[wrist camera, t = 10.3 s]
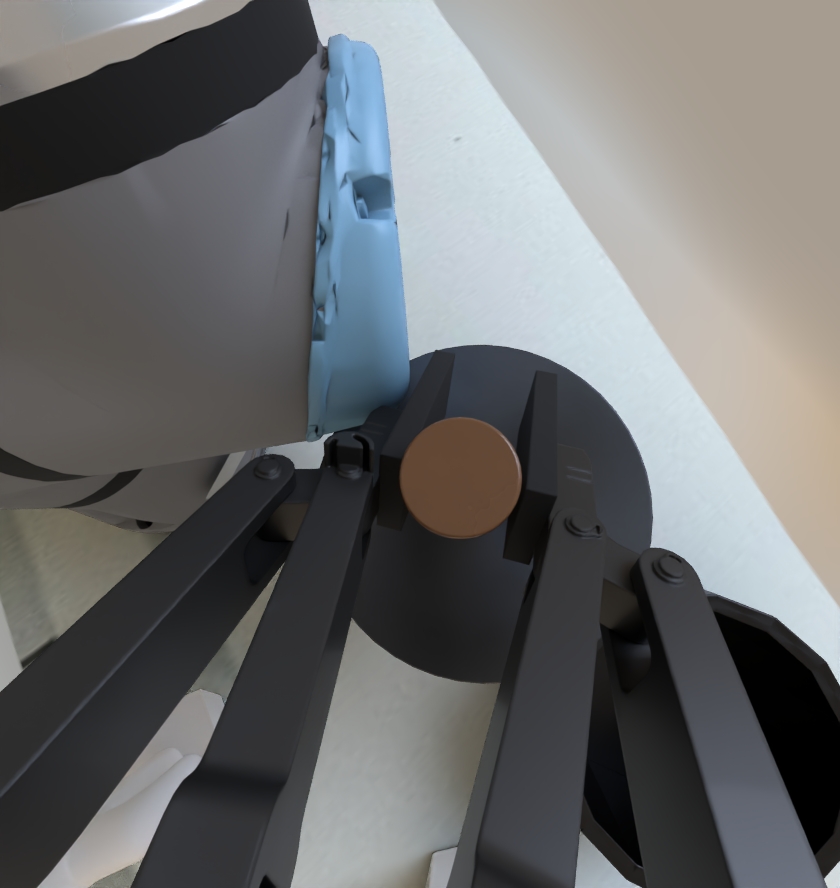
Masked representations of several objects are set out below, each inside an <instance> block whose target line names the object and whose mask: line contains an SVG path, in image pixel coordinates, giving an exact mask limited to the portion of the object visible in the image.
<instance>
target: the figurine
mask: <svg viewBox="0 0 840 888" xmlns="http://www.w3.org/2000/svg"><path fill="white" fill-rule="evenodd" d="M224 706H225V705H224V703H223V700H222V697H221V695H218V694H215V693H212V692H209V691H205V690H202V689H198V690H196V691H194V692H192V693H190V694H188V695H186V696H184V697H183V698H182V700H181V701H180V702H179V704H178V705H177V706H176V708H175V709H174V710H173V712H172V713H171V714H170V716H169V717H168V718H167V720H166V721H165V722H164V724H163V725H162V726H161V728H160V729H159V730H158V732H157V733H156V734H155V736H154V737H153V739H152V740H151V741H150V743H149V744H148V745H147V747H146V748H145V749H144V751H143V752H142V753H141V755H140V756H139V757H138V759H137V760H136V761H135V763H134V764H133V765H132V767H131V768H130V769H129V771H128V772H127V773H126V775H125V776H124V777H123V779H122V780H121V781H120V783H119V784H118V785H117V787H116V788H115V789H114V791H113V792H112V793H111V795H110V796H109V797H108V799H107V800H106V801H105V803H104V804H103V805H102V807H101V808H100V810H99V811H98V812H97V814H96V815H95V816H94V818H93V819H92V820H91V822H90V823H89V824H88V826H87V827H86V828H85V830H84V831H83V832H82V834H81V835H80V836H79V838H78V839H77V840H76V841H75V843H74V844H73V845H72V846H71V848H70V849H69V850H68V851H67V853H66V854H65V855H64V856H63V858H62V859H61V860H60V861H59V863H58V864H57V865H56V866H55V868H54V869H53V870H52V871H51V873H50V874H49V875H48V876H47V877H46V878H45V879H44V880H43V882H42V883H41V884H40V885H39V886H38V887H37V888H89V887H90V886H91V885H92V884H93V883H95V882H96V881H98V880H100V879H102V878H104V877H106V876H108V875H110V874H112V873H115V872H117V871H119V870H121V869H123V868H125V867H127V866H129V865H132V864H134V863H136V862H138V861H139V860H141V859H143V858H144V856H145V854H146V852H147V849H148V847H149V845H150V843H151V840H152V838H153V836H154V834H155V831H156V829H157V827H158V825H159V822H160V820H161V818H162V816H163V813H164V811H165V809H166V807H167V805H168V803H169V802H170V800H171V798H172V796H173V794H174V792H175V791H176V789H177V788H178V786H179V785H180V783H181V782H182V781H183V780H184V779H185V778H186V777H187V776H188V775H189V774H191V773H192V772H193V771H194V770H195V769H196V767H197V766H198V764H199V763H200V761H201V759H202V757H203V755H204V753H205V751H206V748H207V746H208V744H209V741H210V739H211V736H212V734H213V732H214V729H215V727H216V725H217V722H218V720H219V717H220V715H221V713H222V710H223V708H224Z"/></svg>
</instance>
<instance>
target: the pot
mask: <svg viewBox="0 0 840 888" xmlns="http://www.w3.org/2000/svg"><path fill="white" fill-rule="evenodd" d="M704 591H705V594H706V596H707V599H708V601H709V603H710V606H711V608H712V611H713V613H714V615H715V618H716V620H717V623H718V625H719V627H720V630H721V632H722V635H723V637H724V640H725V642H726V644H727V647H728V649H729V652H730V654H731V656H732V659H733V661H734V664H735V666H736V668H737V671H738V673H739V676H740V678H741V681H742V683H743V685H744V688H745V690H746V693H747V695H748V697H749V700H750V702H751V705H752V707H753V710H754V712H755V714H756V717H757V719H758V722H759V724H760V726H761V729H762V731H763V734H764V736H765V738H766V741H767V743H768V746H769V748H770V751H771V753H772V755H773V758H774V760H775V763H776V765H777V767H778V770H779V772H780V775H781V777H782V779H783V782H784V784H785V787H786V789H787V792H788V794H789V796H790V799H791V801H792V804H793V806H794V808H795V811H796V813H797V816H798V818H799V821H800V823H801V825H802V828H803V830H804V833H805V835H806V837H807V840H808V842H809V845H810V847H811V849H812V852H813V854H814V857H815V859H816V862H817V864H818V866H819V869H820V871H821V874H822V876H823V878H825V877H826V876H827V875H828V873H829V872H830V871H831V870H832V869H833V868H834V867H835V866H836V864H837V863H838V862H839V861H840V685H839V684H838V682H837V680H836V678H835V676H834V675H833V673H832V671H831V669H830V668H829V666H828V664H827V662H826V661H824V659H823V658H822V657H821V656H819V655H818V654H817V653H816V652H815V651H814V650H812V649H811V648H810V647H809V646H808V645H807V644H806V643H804V642H803V641H802V640H801V639H800V638H799V637H798V636H796V635H795V634H794V633H793V632H792V631H791V630H789V629H788V628H787V627H786V626H785V625H784V624H783V623H781V622H780V621H779V620H778V619H777V618H775V617H773V616H771V615H769V614H766V613H764V612H761V611H759V610H756V609H753V608H751V607H748V606H746V605H743V604H741V603H738V602H735V601H733V600H730V599H728V598H725V597H723V596H720V595H717V594H715V593H712V592H709V591H706V590H704ZM580 829H581V832H582V833H583V834H584V835H585V836H586V837H587V838H588V839H589V840H590V841H591V842H592V843H593V844H594V846H595V847H596V848H597V849H598V850H599V851H600V852H601V853H602V854H603V855H604V856H605V857H606V858H607V859H608V860H609V862H610V863H611V864H612V865H613V866H614V867H615V868H616V869H617V870H618V871H619V872H620V873H621V874H622V875H623V876H624V878H625V879H626V880H628V881H630V882H632V883H634V884H636V885H638V886H640V887H642V888H647V886H646V881H645V875H644V869H643V864H642V858H641V853H640V847H639V842H638V836H637V830H636V825H635V819H634V814H633V808H632V802H631V797H630V791H629V786H628V780H627V775H626V769H625V763H624V758H623V752H622V747H621V741H620V736H619V730H618V724H617V719H616V713H615V708H614V702H613V697H612V691H611V685H610V680H609V674H608V669H607V663H606V658H605V652H604V646H603V641H602V637H601V638H600V639H599V640H598V641H597V651H596V662H595V673H594V684H593V694H592V705H591V716H590V727H589V738H588V748H587V759H586V770H585V781H584V791H583V802H582V813H581V824H580Z"/></svg>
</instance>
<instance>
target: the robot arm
mask: <svg viewBox="0 0 840 888" xmlns="http://www.w3.org/2000/svg"><path fill="white" fill-rule="evenodd" d="M394 202H395V197H394V190H393V180H392V171H391V161H390V143H389V133H388V123H387V113H386V104H385V96H384V88H383V80H382V72H381V66H380V63H379V58H378V56H377V53H376V52H375V50H374V49H373V47H372V46H370V45H369V44H367V43H365V42H361V41H350V40H349V39H348V38H347V37H346V36H345V35H343V34H338V35H335V36H332V37H330V38H329V40H328V47H326V46H322V44H321V42H320V40H319V38H318V35H317V32H316V28H315V25H314V21H313V17H312V14H311V10H310V6H309V3H308V0H0V509H47V508H68V509H70V510H73V511H76V512H78V513H81V514H84V515H87V516H89V517H92V518H95V519H97V520H100V521H103V522H106V523H108V524H111V525H114V526H117V527H120V528H123V529H127V530H131V531H135V532H142V533H162V532H172V531H174V532H172V533H171V534H170V535H169V536H168V537H167V538H166V539H165V540H164V541H163V542H162V543H161V544H160V545H158V546H157V547H156V548H155V549H154V550H153V551H152V552H151V553H150V554H149V555H148V556H147V557H145V558H144V559H143V560H142V561H141V562H140V563H139V564H138V565H137V566H136V567H135V568H134V569H133V570H131V571H130V572H129V573H128V574H127V575H126V576H125V577H124V578H123V579H122V580H121V581H120V582H119V583H117V584H116V585H115V586H114V587H113V588H112V589H111V590H110V591H109V592H108V593H107V594H106V595H104V596H103V597H102V598H101V599H100V600H99V601H98V602H97V603H96V604H95V605H94V606H93V607H92V608H90V609H89V610H88V611H87V612H86V613H85V614H84V615H83V616H82V617H81V618H80V619H79V620H77V621H76V622H75V623H74V624H73V625H72V626H71V627H70V628H69V629H68V630H67V631H66V632H65V633H63V634H62V635H61V636H60V637H59V638H58V639H57V640H56V641H55V642H54V643H53V644H52V645H50V646H49V647H48V648H47V649H46V650H45V651H44V652H43V653H42V654H41V655H40V656H39V657H38V658H36V659H35V660H34V661H33V662H32V663H31V664H30V665H29V666H28V667H27V668H26V669H25V670H24V671H22V672H21V673H20V674H19V675H18V676H17V677H16V678H15V679H14V680H13V681H12V682H11V683H10V684H9V685H8V686H6V687H5V688H4V689H3V690H2V691H1V692H0V888H37V887H38V886H39V885H40V884H41V883H42V882H43V880H44V879H45V878H46V877H47V876H48V875H49V874H50V873H51V871H52V870H53V869H54V868H55V866H56V865H57V864H58V863H59V861H60V860H61V859H62V858H63V856H64V855H65V854H66V853H67V851H68V850H69V849H70V848H71V846H72V845H73V844H74V843H75V841H76V840H77V839H78V838H79V836H80V835H81V834H82V832H83V831H84V830H85V828H86V827H87V826H88V824H89V823H90V822H91V820H92V819H93V818H94V816H95V815H96V814H97V812H98V811H99V810H100V808H101V807H102V805H103V804H104V803H105V801H106V800H107V799H108V797H109V796H110V795H111V793H112V792H113V791H114V789H115V788H116V787H117V785H118V784H119V783H120V781H121V780H122V779H123V777H124V776H125V775H126V773H127V772H128V771H129V769H130V768H131V767H132V765H133V764H134V763H135V761H136V760H137V759H138V757H139V756H140V755H141V753H142V752H143V751H144V749H145V748H146V747H147V745H148V744H149V743H150V741H151V740H152V739H153V737H154V736H155V734H156V733H157V732H158V730H159V729H160V728H161V726H162V725H163V724H164V722H165V721H166V720H167V718H168V717H169V716H170V714H171V713H172V712H173V710H174V709H175V708H176V706H177V705H178V704H179V702H180V701H181V700H182V698H183V697H184V696H185V694H186V693H187V692H188V690H189V689H190V688H191V686H192V685H193V684H194V682H195V681H196V680H197V678H198V677H199V676H200V674H201V673H202V672H203V670H204V669H205V667H206V666H207V665H208V663H209V662H210V661H211V659H212V658H213V657H214V655H215V654H216V653H217V651H218V650H219V649H220V647H221V646H222V645H223V643H224V642H225V641H226V639H227V638H228V637H229V635H230V634H231V633H232V631H233V630H234V629H235V627H236V626H237V625H238V623H239V622H240V621H241V619H242V618H243V617H244V615H245V614H246V613H247V611H248V610H249V609H250V607H251V606H252V605H253V603H254V602H255V601H256V599H257V598H258V596H259V595H260V594H261V592H262V591H263V590H264V588H265V587H266V586H267V584H268V583H269V582H270V580H271V579H272V578H273V576H274V575H275V574H276V572H277V571H278V570H279V568H280V567H281V566H282V564H283V563H284V562H285V563H284V566H283V568H282V570H281V573H280V575H279V577H278V580H277V582H276V585H275V587H274V589H273V592H272V594H271V596H270V599H269V601H268V604H267V606H266V608H265V611H264V613H263V615H262V618H261V620H260V623H259V625H258V627H257V630H256V632H255V634H254V637H253V639H252V642H251V644H250V646H249V649H248V651H247V653H246V656H245V658H244V660H243V663H242V665H241V668H240V670H239V672H238V675H237V677H236V679H235V682H234V684H233V687H232V689H231V691H230V694H229V696H228V698H227V701H226V703H225V706H224V708H223V710H222V713H221V715H220V717H219V720H218V722H217V725H216V727H215V729H214V732H213V734H212V736H211V739H210V741H209V744H208V746H207V748H206V751H205V753H204V755H203V757H202V759H201V761H200V763H199V764H198V766H197V767H196V769H195V770H194V771H193V772H192V773H191V774H189V775H188V776H187V777H186V778H185V779H184V780H183V781H182V782H181V783H180V785H179V786H178V788H177V789H176V791H175V792H174V794H173V796H172V798H171V800H170V802H169V803H168V805H167V807H166V809H165V811H164V813H163V816H162V818H161V820H160V822H159V825H158V827H157V829H156V831H155V834H154V836H153V838H152V840H151V843H150V845H149V847H148V849H147V852H146V854H145V856H144V858H143V861H142V863H141V865H140V867H139V870H138V872H137V874H136V876H135V879H134V881H133V883H132V885H131V888H290V887H291V882H292V878H293V874H294V869H295V864H296V859H297V854H298V848H299V841H300V833H301V826H302V821H303V816H304V812H305V807H306V803H307V799H308V795H309V791H310V787H311V783H312V779H313V774H314V770H315V766H316V762H317V758H318V754H319V750H320V746H321V741H322V737H323V733H324V729H325V725H326V721H327V717H328V713H329V708H330V704H331V700H332V696H333V692H334V688H335V684H336V680H337V675H338V671H339V667H340V663H341V659H342V655H343V651H344V647H345V642H346V638H347V634H348V630H349V626H350V622H351V618H352V614H353V609H354V605H355V601H356V597H357V593H358V589H359V585H360V581H361V576H362V572H363V568H364V564H365V560H366V556H367V552H368V548H369V543H370V539H371V526H372V524H373V522H374V519H375V517H376V515H377V524H376V525H379V526H383V527H386V528H390V529H394V530H398V531H401V530H402V528H403V525H404V522H405V520H406V517H407V514H408V512H409V511H408V509H407V507H406V505H405V503H404V501H403V498H402V495H401V491H400V486H399V471H400V465H401V461H402V458H403V455H404V453H405V451H406V449H407V447H408V446H409V444H410V443H411V441H412V440H413V439H414V438H415V437H416V436H417V435H418V434H419V433H420V432H421V431H422V430H424V429H425V428H426V427H428V426H430V425H431V424H433V423H435V422H438V421H440V420H444V418H445V415H446V410H447V404H448V397H449V391H450V385H451V378H452V372H453V366H454V359H455V353H450V352H445V351H440V350H435V352H434V354H433V356H432V358H431V359H430V361H429V363H428V365H427V367H426V369H425V371H424V372H423V374H422V376H421V378H420V380H419V382H418V384H417V386H416V387H415V389H414V391H413V393H412V395H411V397H410V399H409V400H408V402H407V404H406V406H405V408H404V410H400V409H397V408H398V406H399V405H400V404H401V403H402V401H403V399H404V397H405V396H406V393H407V390H408V386H409V381H410V365H409V348H408V335H407V322H406V310H405V299H404V289H403V277H402V266H401V256H400V247H399V237H398V228H397V220H396V215H395V208H394ZM359 425H362V427H361V428H360V431H358V432H355V431H343V432H339V433H335V434H333V435H332V436H330V437H328V438H327V439H326V441H325V442H324V455H325V467H324V468H320V469H295V467H294V464H293V462H292V461H291V460H290V459H289V458H287V457H285V456H282V455H276V454H270V455H264V454H265V450H266V447H272V446H278V445H284V444H290V443H296V442H302V441H307V442H313V441H316V440H319V439H320V438H321V437H322V436H323V435H324V434H328V433H332V432H336V431H340V430H344V429H348V428H351V427H355V426H359ZM516 453H517V456H518V458H519V462H520V465H521V472H522V484H521V491H520V495H519V498H518V501H517V503H516V505H515V507H514V509H513V511H512V512H511V514H510V515H509V516H508V519H507V527H506V535H505V543H504V551H503V558H504V559H508V560H511V561H515V562H519V563H523V564H526V565H530V562H531V560H532V558H533V555H534V558H533V568H532V571H531V573H530V575H529V578H528V580H527V583H526V585H525V587H524V590H523V592H522V594H521V595H523V600H522V604H521V608H520V611H519V615H518V619H517V623H516V627H515V630H514V634H513V638H512V642H511V646H510V649H509V653H508V657H507V661H506V665H505V668H504V672H503V676H502V680H501V684H500V688H499V691H498V695H497V699H496V703H495V707H494V710H493V714H492V718H491V722H490V726H489V729H488V733H487V737H486V741H485V745H484V748H483V752H482V756H481V760H480V764H479V767H478V771H477V775H476V779H475V783H474V787H473V790H472V794H471V798H470V802H469V806H468V809H467V813H466V817H465V821H464V825H463V828H462V832H461V836H460V840H459V844H458V847H457V851H456V855H455V859H454V863H453V866H452V870H451V874H450V877H449V880H448V884H447V887H446V888H575V877H576V867H577V856H578V845H579V834H580V824H581V813H582V802H583V791H584V781H585V770H586V759H587V748H588V738H589V727H590V716H591V705H592V694H593V684H594V673H595V662H596V651H597V641H598V630H599V623H600V630H601V635H602V641H603V646H604V652H605V658H606V663H607V669H608V674H609V680H610V685H611V691H612V697H613V702H614V708H615V713H616V719H617V724H618V730H619V736H620V741H621V747H622V752H623V758H624V763H625V769H626V775H627V780H628V786H629V791H630V797H631V802H632V808H633V814H634V819H635V825H636V830H637V836H638V842H639V847H640V853H641V858H642V864H643V869H644V875H645V881H646V886H647V888H827V886H826V883H825V881H824V878H823V876H822V874H821V871H820V869H819V866H818V864H817V862H816V859H815V857H814V854H813V852H812V849H811V847H810V845H809V842H808V840H807V837H806V835H805V833H804V830H803V828H802V825H801V823H800V821H799V818H798V816H797V813H796V811H795V808H794V806H793V804H792V801H791V799H790V796H789V794H788V792H787V789H786V787H785V784H784V782H783V779H782V777H781V775H780V772H779V770H778V767H777V765H776V763H775V760H774V758H773V755H772V753H771V751H770V748H769V746H768V743H767V741H766V738H765V736H764V734H763V731H762V729H761V726H760V724H759V722H758V719H757V717H756V714H755V712H754V710H753V707H752V705H751V702H750V700H749V697H748V695H747V693H746V690H745V688H744V685H743V683H742V681H741V678H740V676H739V673H738V671H737V668H736V666H735V664H734V661H733V659H732V656H731V654H730V652H729V649H728V647H727V644H726V642H725V640H724V637H723V635H722V632H721V630H720V627H719V625H718V623H717V620H716V618H715V615H714V613H713V611H712V608H711V606H710V603H709V601H708V599H707V596H706V594H705V591H704V589H703V586H702V584H701V582H700V579H699V577H698V575H697V573H696V572H695V570H694V569H693V567H692V566H691V565H690V564H689V563H688V562H687V561H686V560H684V559H683V558H682V557H680V556H678V555H677V554H675V553H673V552H671V551H668V550H665V549H662V548H649V549H646V550H644V551H643V552H642V553H641V555H640V554H638V553H636V552H634V551H632V550H630V549H628V548H626V547H624V546H622V545H620V544H618V543H617V542H615V541H614V540H612V539H611V538H610V537H609V536H607V533H606V528H605V527H604V525H603V524H602V522H601V521H600V520H599V519H598V518H597V514H596V504H595V494H594V484H593V475H592V465H591V460H590V458H589V457H588V455H587V454H586V452H585V451H584V449H580V448H576V447H571V446H567V445H562V444H558V443H557V374H555V373H550V372H545V371H540V370H536V373H535V376H534V379H533V383H532V386H531V390H530V393H529V397H528V400H527V403H526V407H525V410H524V414H523V417H522V421H521V424H520V427H519V432H518V440H517V448H516ZM285 560H286V561H285Z"/></svg>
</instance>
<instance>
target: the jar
mask: <svg viewBox="0 0 840 888" xmlns="http://www.w3.org/2000/svg"><path fill="white" fill-rule="evenodd" d="M456 851H457V847H455V848H450V849H446V850H442V851H438V852H435V853H433V855H432V859H431V863H430V868H429V873H428V877H427V882H426V886H425V888H446V887H447V884H448V880H449V877H450V874H451V870H452V866H453V863H454V859H455V855H456Z"/></svg>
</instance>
